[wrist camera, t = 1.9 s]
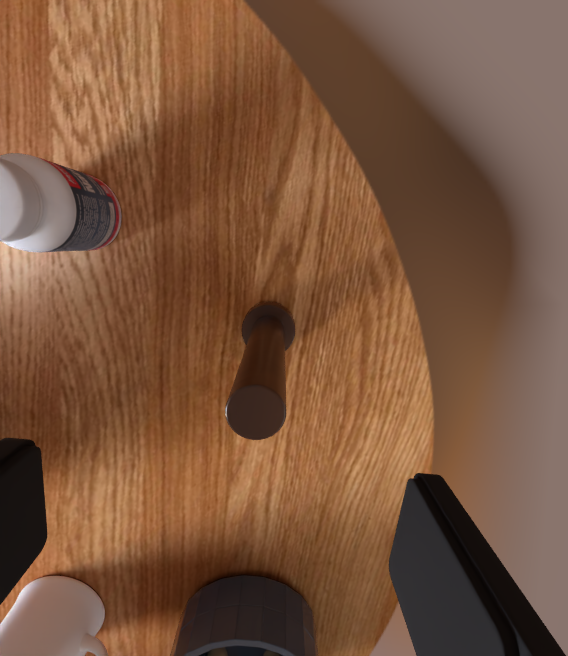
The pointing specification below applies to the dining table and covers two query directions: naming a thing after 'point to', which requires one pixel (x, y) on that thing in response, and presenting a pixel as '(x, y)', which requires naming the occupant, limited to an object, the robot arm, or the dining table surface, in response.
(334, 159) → the dining table surface
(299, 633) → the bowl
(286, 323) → the rod
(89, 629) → the mug
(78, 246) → the pill bottle
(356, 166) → the dining table surface
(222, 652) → the bead
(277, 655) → the bead
